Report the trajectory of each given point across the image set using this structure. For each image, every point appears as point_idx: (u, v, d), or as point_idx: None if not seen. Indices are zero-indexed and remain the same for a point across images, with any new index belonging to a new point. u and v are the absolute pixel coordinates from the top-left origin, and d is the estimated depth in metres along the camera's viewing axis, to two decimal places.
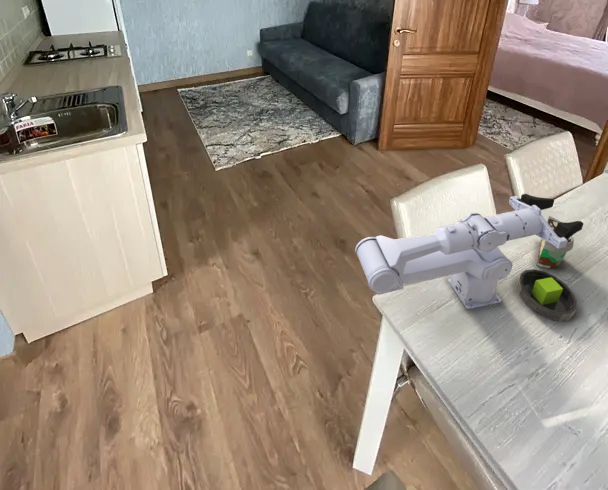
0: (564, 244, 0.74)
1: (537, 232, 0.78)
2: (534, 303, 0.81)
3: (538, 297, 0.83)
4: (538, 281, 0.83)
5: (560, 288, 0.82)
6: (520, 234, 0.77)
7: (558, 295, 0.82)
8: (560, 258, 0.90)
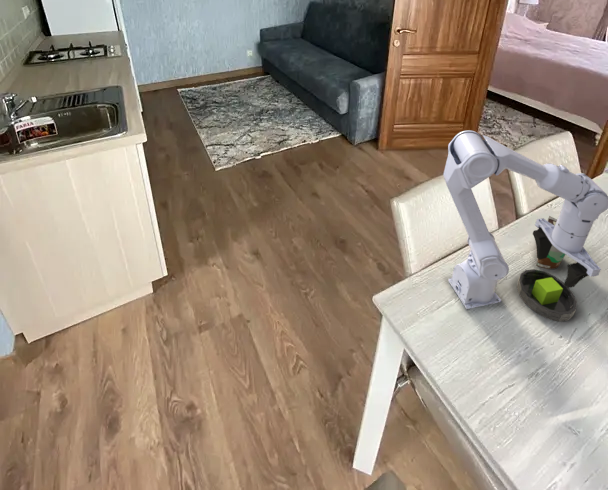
0: (595, 274, 0.71)
1: (577, 248, 0.74)
2: (534, 303, 0.81)
3: (538, 297, 0.83)
4: (538, 281, 0.83)
5: (560, 288, 0.82)
6: (582, 232, 0.73)
7: (558, 295, 0.82)
8: (560, 258, 0.90)
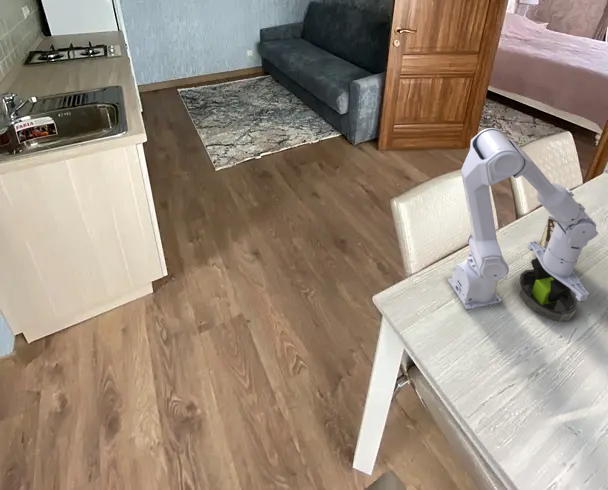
0: (584, 298, 0.74)
1: (566, 273, 0.77)
2: (534, 303, 0.81)
3: (538, 297, 0.83)
4: (538, 281, 0.83)
5: None
6: (572, 258, 0.75)
7: None
8: None
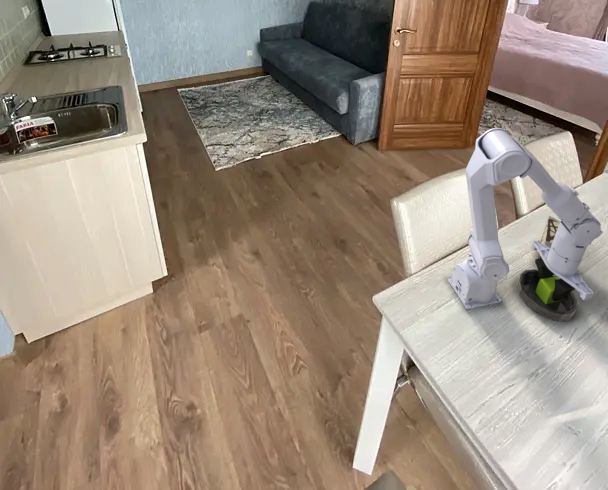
0: (588, 297, 0.74)
1: (571, 272, 0.77)
2: (534, 303, 0.81)
3: (542, 296, 0.83)
4: (542, 280, 0.83)
5: None
6: (576, 257, 0.76)
7: None
8: None
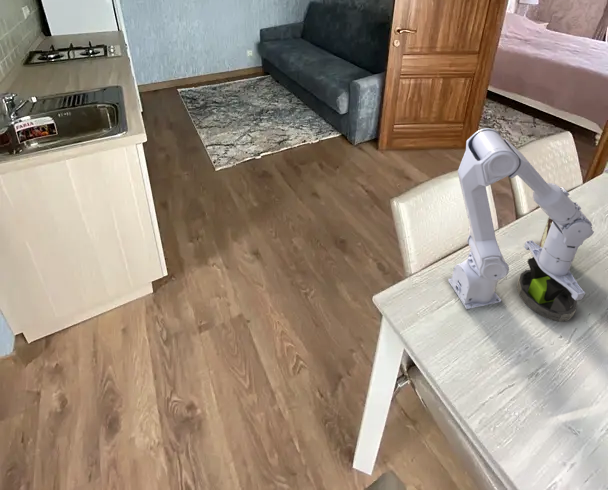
0: (579, 297, 0.74)
1: (562, 272, 0.77)
2: (534, 303, 0.81)
3: (534, 296, 0.83)
4: (534, 280, 0.83)
5: None
6: (568, 257, 0.76)
7: None
8: None
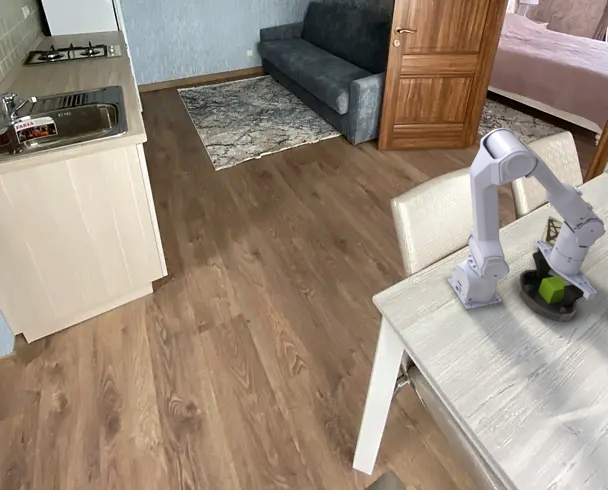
0: (591, 297, 0.75)
1: (574, 271, 0.78)
2: (534, 303, 0.81)
3: (545, 295, 0.84)
4: (545, 280, 0.84)
5: None
6: (579, 257, 0.76)
7: None
8: None
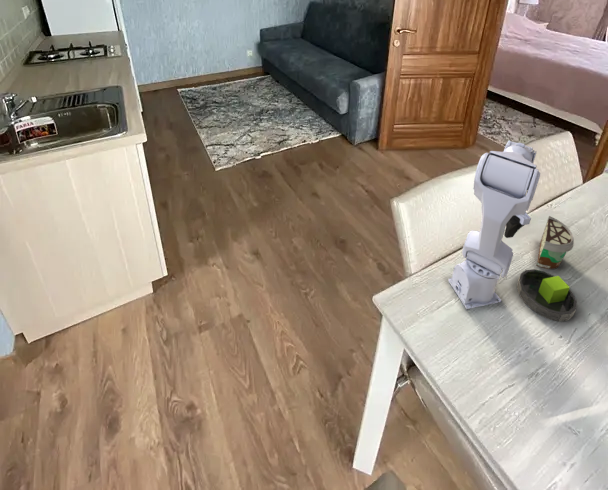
0: (526, 223, 0.84)
1: None
2: (534, 303, 0.81)
3: (545, 295, 0.84)
4: (545, 280, 0.84)
5: (567, 286, 0.82)
6: None
7: (565, 294, 0.83)
8: (560, 258, 0.90)
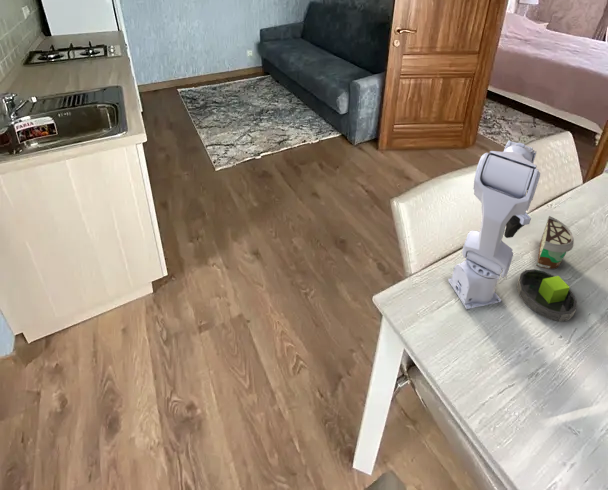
0: (526, 223, 0.84)
1: None
2: (534, 303, 0.81)
3: (545, 295, 0.84)
4: (545, 280, 0.84)
5: (567, 286, 0.82)
6: None
7: (565, 294, 0.83)
8: (560, 258, 0.90)
